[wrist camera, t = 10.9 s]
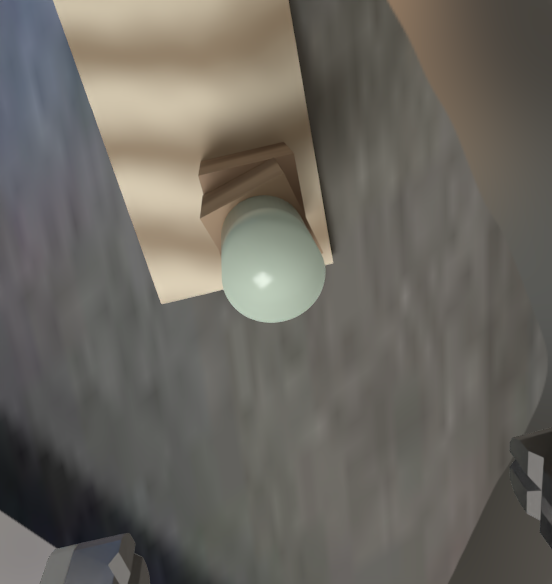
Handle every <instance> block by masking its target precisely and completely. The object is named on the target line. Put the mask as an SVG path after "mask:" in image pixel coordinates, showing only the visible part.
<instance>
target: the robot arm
mask: <svg viewBox="0 0 552 584" xmlns="http://www.w3.org/2000/svg"><path fill="white" fill-rule="evenodd" d="M510 453H511V454H512V455H513V457H514V458H515V461H514V462H513V463H512V464H511V466H510V480H511V483H512V487H513V490H514V493H515V495H516V496H517V498H518V501H519V502H520V504H521V505H522V507H523V508H524V510H525V511H526V513H527V514H529V515H531V516H533V517H535V518H537V519H538V520H540V533H541V535H542V536H543V537H544V539H545V540H546V542H547V543H548V545H549V546H550V547H551V549H552V427H551V428H547V429H543V430H540V431H536V432H532V433H528V434H524V435H520V436H516V437H513V438H512V439H511V441H510ZM134 549H135V542H134V540H133V539H132V537H131V535H130V533H127V534H121V535H116V536H112V537H107V538H103V539H98V540H93V541H89V542H84V543H80V544H76V545H72V546H67V547H63V548H59V549H55V550H54V551H53V552H52V554H51V555H50V556H49V558H48V561H47V564H46V567H45V570H44V573H43V575H42V578H41V581H40V584H150V578H149V573H148V569H147V565H146V563H145V561H144V559H143V557H141V556H139V555H137V554H135V553H134Z"/></svg>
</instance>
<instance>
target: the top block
mask: <svg viewBox="0 0 552 584" xmlns="http://www.w3.org/2000/svg"><path fill="white" fill-rule="evenodd" d="M259 195H269V196H275V197H278V198H281V199H283V200H285V201H287V202H288V203H289V204H291V205H292V206H293V207H294V208H295V209H296V210H297V212H298V213H299V215H300V216H301V218H302V220H303V222H304V223H305V225H306V227H307V229H308V231H309V232H310V234H311V236H312V238H313V240H314V241H315V243H316V245H317V247H318V249H319V250H320V252H321V254H322V253H323V251H322V249H321V247H320V245H319V243H318V241H317V239H316V237H315V235H314V233H313V231H312V229H311V227H310V225H309V223H308V221H307V219H306V217H305V215H304V213H303V211H302V209H301V207H300V205H299V203H298V201H297V199H296V197H295V195H294V193H293V191H292V189H291V187H290V184H289V182H288V180H287V178H286V176H285V174H284V173H283V171H282V169H281V168H280V166H279V165H278V163H277V161H276V160H275V158H274V157H273V158H271V159H269V160H267V161H266V162H264V163H262V164H260V165H258V166H256V167H255V168H253V169H251V170H249V171H247V172H245V173H243V174H242V175H240V176H238V177H236V178H234V179H232V180H231V181H229V182H227V183H225V184H223V185H221V186H219V187H218V188H216V189H214V190H212V191H210V192H208V193H207V194H205V195H203V196H202V204H201V213H200V220H201V221H202V223H203V225H204V226H205V228H206V230H207V231H208V233H209V235H210V236H211V238H212V240H213V241H214V243H215V245H216V246H217V248H218V249H219V251H220V253H221V230H222V225H223V223H224V220H225V218H226V216H227V215H228V213H229V212H230V211H231V210H232V209H233V207H235V206H236V205H237V204H238V203H240V202H241V201H243V200H245V199H247V198H250V197H253V196H259Z"/></svg>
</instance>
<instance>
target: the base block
mask: <svg viewBox="0 0 552 584" xmlns="http://www.w3.org/2000/svg"><path fill="white" fill-rule="evenodd" d="M273 157H274V158H275V160H276V161H277V163H278V165H279V166H280V168H281V169H282V171H283V173H284V174H285V176H286V178H287V180H288V182H289V184H290V187H291V189H292V191H293V193H294V195H295V197H296V199H297V201H298V203H299V205H300V207H301V209H302V211H303V213H304V215H305V210H304V204H303V199H302V194H301V188H300V183H299V178H298V172H297V167H296V162H295V156H294V153H293V152H292V151H291V149H290V148H289V147H288V146H287V145H286V144H285V143H284V142H280V143H276V144H272V145H268V146H263V147H259V148H255V149H251V150H247V151H242V152H238V153H234V154H230V155H225V156H221V157H217V158H213V159H208V160H204V161H201V163H200V168H199V174H198V177H199V181H200V184H201V188H202V191H203V195H205V194H207V193H208V192H210V191H212V190H214V189H216V188H218V187H219V186H221V185H223V184H225V183H227V182H229V181H231V180H232V179H234V178H236V177H238V176H240V175H242V174H243V173H245V172H247V171H249V170H251V169H253V168H255V167H256V166H258V165H260V164H262V163H264V162H266V161H267V160H269V159H271V158H273ZM305 217H306V215H305ZM219 252H220V251H219ZM220 255H221V253H220Z"/></svg>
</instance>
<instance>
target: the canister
mask: <svg viewBox="0 0 552 584" xmlns="http://www.w3.org/2000/svg"><path fill="white" fill-rule="evenodd" d="M221 266H222V284H223V289H224V292H225V294H226V296H227V298H228V300H229V302H230V303H231V304H232V306H233V307H234V308H235V309H236V310H238V311H239V312H240V313H241V314H243V315H245V316H246V317H248V318H251V319H253V320H257V321H261V322H270V323H273V322H282V321H286V320H290V319H292V318H295V317H297V316H299V315H300V314H302V313H303V312H305V311H306V310H307V309H309V308H310V307H311V306H312V305H313V303H314V302H315V301H316V300H317V298H318V297H319V295H320V293H321V291H322V288H323V285H324V281H325V264H324V260H323V257H322V254H321V252H320V250H319V249H318V247H317V245H316V243H315V241H314V240H313V238H312V236H311V234H310V232H309V231H308V229H307V227H306V225H305V223H304V222H303V220H302V218H301V216H300V215H299V213H298V212H297V210H296V209H295V208H294V207H293V206H292V205H291V204H289V203H288V202H287V201H285V200H283V199H281V198H278V197H275V196H269V195H259V196H253V197H250V198H247V199H245V200H243V201H241V202H240V203H238V204H237V205H236V206H235V207H233V209H232V210H231V211H230V212H229V213H228V215H227V216H226V218H225V220H224V223H223V225H222V230H221Z"/></svg>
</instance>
